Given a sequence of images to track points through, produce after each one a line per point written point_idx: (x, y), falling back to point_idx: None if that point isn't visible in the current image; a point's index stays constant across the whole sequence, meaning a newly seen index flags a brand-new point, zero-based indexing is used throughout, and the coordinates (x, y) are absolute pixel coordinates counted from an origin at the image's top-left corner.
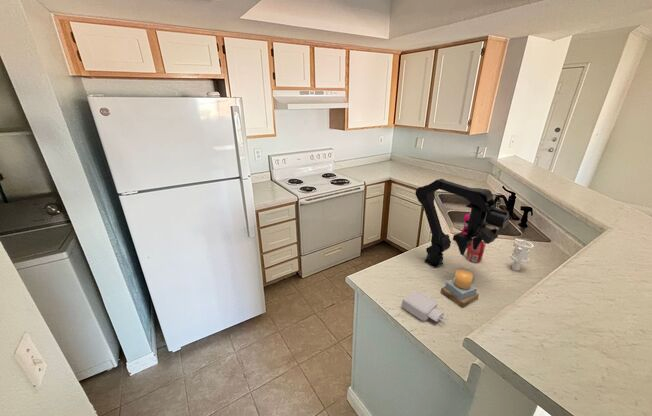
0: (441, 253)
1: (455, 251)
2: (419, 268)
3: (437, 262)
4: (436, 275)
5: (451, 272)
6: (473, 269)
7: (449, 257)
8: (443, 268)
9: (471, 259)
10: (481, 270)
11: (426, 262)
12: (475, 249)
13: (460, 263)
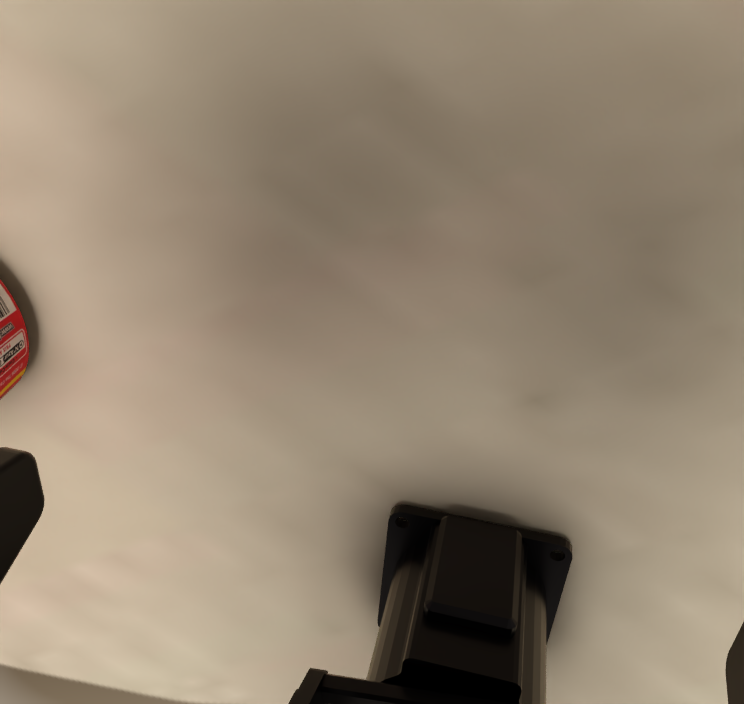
0: (421, 675)
1: None
2: None
3: (523, 581)
4: (738, 462)
5: (490, 363)
6: (149, 199)
7: (197, 501)
8: (487, 463)
9: (8, 318)
10: (64, 111)
11: (547, 632)
12: (26, 461)
13: (187, 371)
